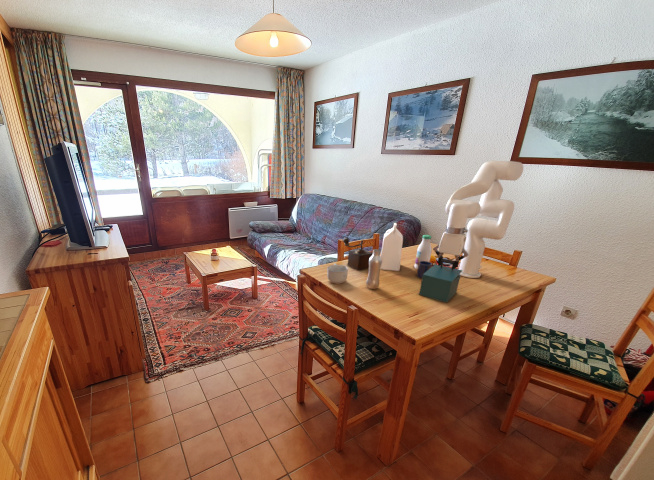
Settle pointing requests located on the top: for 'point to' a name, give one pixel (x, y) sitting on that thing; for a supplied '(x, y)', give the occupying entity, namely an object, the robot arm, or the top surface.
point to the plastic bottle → (374, 269)
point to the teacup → (337, 273)
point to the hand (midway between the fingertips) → (447, 266)
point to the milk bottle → (423, 250)
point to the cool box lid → (443, 272)
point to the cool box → (439, 288)
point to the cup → (423, 268)
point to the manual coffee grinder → (358, 256)
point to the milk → (392, 249)
